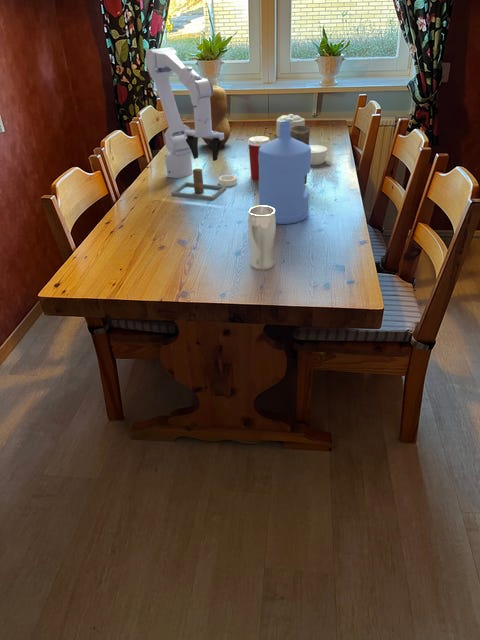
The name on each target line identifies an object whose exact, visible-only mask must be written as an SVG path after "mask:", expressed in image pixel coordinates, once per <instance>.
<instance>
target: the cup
mask: <svg viewBox="0 0 480 640" xmlns="http://www.w3.org/2000/svg"><path fill="white" fill-rule="evenodd" d="M218 184H219V185H218V186H225V187H233V186H235V185H237V184H238V179H237V176H236V175H233V174H225V175H224V174H223V175H220V176H219V177H218Z"/></svg>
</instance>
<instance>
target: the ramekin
mask: <svg viewBox="0 0 480 640" xmlns="http://www.w3.org/2000/svg"><path fill="white" fill-rule="evenodd" d="M309 146H310V148H311V163H310V166H317V165H322V164H324V163H325V161H326V158H327V155H328V153H327V152H328V151H329V150H328V147H327V146H324V145H320V144H309Z"/></svg>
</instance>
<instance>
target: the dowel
mask: <svg viewBox="0 0 480 640" xmlns="http://www.w3.org/2000/svg"><path fill="white" fill-rule="evenodd" d="M192 172H193V174H192V178H193V183H194V187H193V188H194V194H196V195H203V194H204V190H205V188H203V184H204V178H203V169H202V168H193V169H192Z"/></svg>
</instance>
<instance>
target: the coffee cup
mask: <svg viewBox="0 0 480 640" xmlns="http://www.w3.org/2000/svg"><path fill="white" fill-rule="evenodd" d="M270 141H271V140H270V138H269V137H268V136H264V135H261V136H260V135H257V136H252V137H249V139H248V141H247V145H248V152H249V154H248V155H249V164H250V165H249V167H250V177H251V180H252V181H258V182H259V163H258V155H259V148H260V147H261V146H262V145H264V144H266V143H268V142H270Z"/></svg>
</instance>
